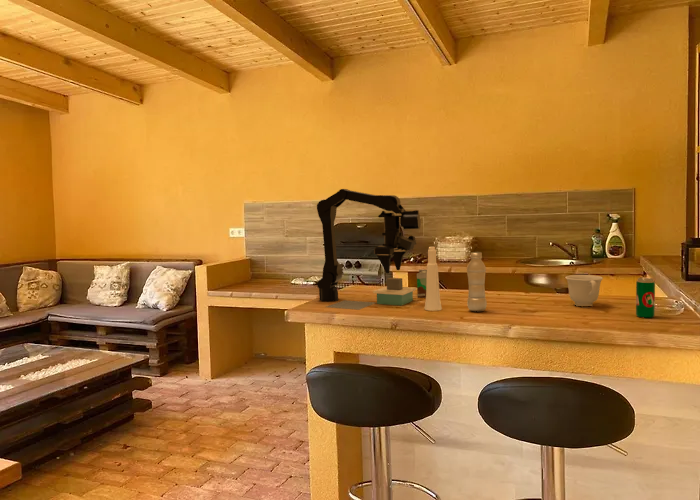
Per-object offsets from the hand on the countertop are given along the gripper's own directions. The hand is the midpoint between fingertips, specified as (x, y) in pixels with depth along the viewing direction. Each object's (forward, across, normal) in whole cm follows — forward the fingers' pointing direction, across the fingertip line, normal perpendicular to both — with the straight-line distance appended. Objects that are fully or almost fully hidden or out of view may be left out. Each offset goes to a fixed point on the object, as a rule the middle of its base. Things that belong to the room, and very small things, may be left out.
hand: (393, 271), depth 196 cm
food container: (+12, +21, -5) cm, 25 cm away
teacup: (+12, +19, -64) cm, 68 cm away
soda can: (+12, +8, -82) cm, 83 cm away
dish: (+12, 0, -1) cm, 12 cm away
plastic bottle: (+12, -1, -32) cm, 34 cm away
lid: (+7, 0, -1) cm, 7 cm away
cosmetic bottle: (+12, -3, -17) cm, 21 cm away
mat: (+12, -10, +12) cm, 20 cm away
